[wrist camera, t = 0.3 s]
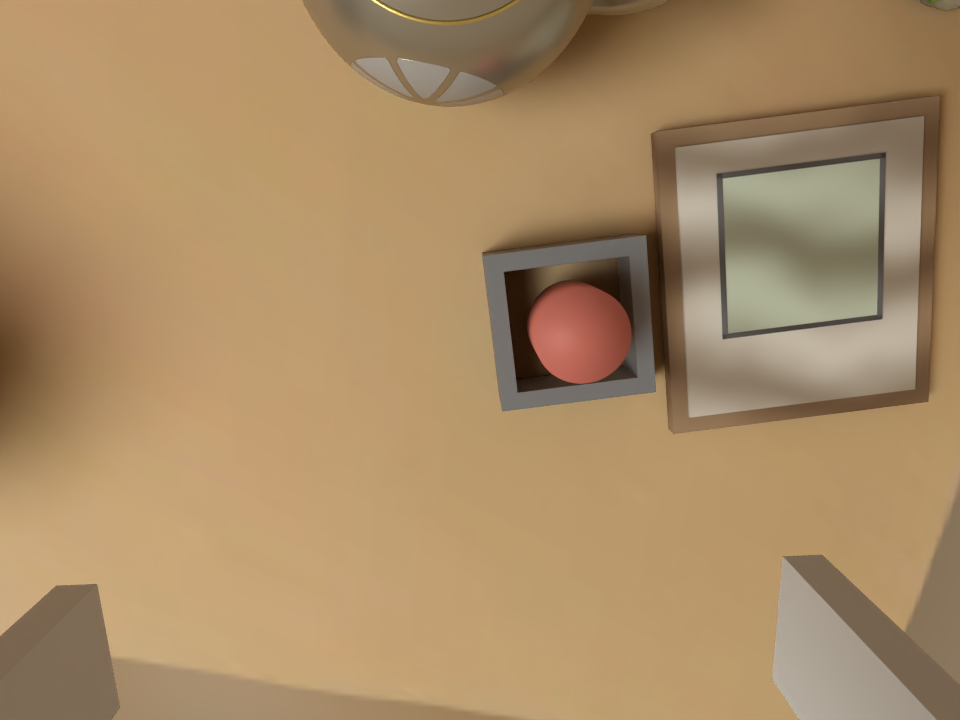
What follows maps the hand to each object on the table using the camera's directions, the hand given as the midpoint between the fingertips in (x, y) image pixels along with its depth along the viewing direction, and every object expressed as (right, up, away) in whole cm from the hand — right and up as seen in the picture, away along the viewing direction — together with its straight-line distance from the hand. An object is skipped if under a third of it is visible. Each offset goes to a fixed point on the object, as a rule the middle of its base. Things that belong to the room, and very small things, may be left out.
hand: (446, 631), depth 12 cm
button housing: (+6, +8, +26) cm, 28 cm away
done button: (+6, +7, +24) cm, 26 cm away
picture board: (+20, +11, +26) cm, 34 cm away
